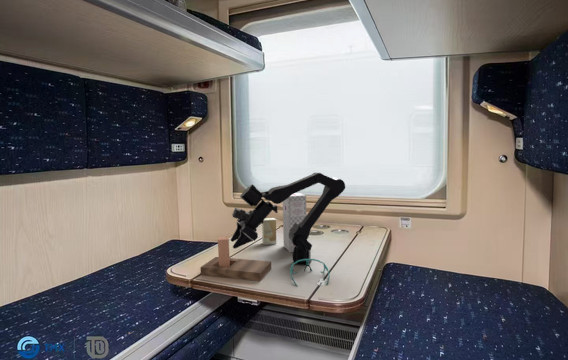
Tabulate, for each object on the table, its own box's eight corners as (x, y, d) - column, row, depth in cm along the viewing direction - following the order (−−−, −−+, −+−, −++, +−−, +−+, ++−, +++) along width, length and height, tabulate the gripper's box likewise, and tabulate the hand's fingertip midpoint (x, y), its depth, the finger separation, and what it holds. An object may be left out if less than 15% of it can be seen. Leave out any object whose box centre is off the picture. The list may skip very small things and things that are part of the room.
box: (289, 251, 155) (288, 196, 152) (283, 246, 163) (282, 194, 160) (307, 249, 158) (306, 195, 155) (300, 244, 166) (299, 192, 163)
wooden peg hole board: (271, 268, 135) (271, 261, 134) (260, 281, 123) (260, 272, 123) (216, 263, 142) (215, 256, 141) (200, 274, 130) (200, 267, 130)
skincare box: (264, 245, 166) (263, 220, 164) (262, 242, 170) (261, 218, 168) (277, 244, 167) (276, 219, 166) (274, 241, 171) (274, 217, 170)
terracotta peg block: (229, 268, 136) (228, 236, 135) (229, 272, 132) (228, 239, 131) (219, 269, 135) (218, 237, 134) (219, 273, 132) (217, 240, 130)
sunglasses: (325, 269, 133) (325, 257, 132) (332, 290, 118) (332, 276, 117) (289, 271, 133) (289, 259, 132) (291, 291, 118) (291, 278, 117)
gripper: (241, 197, 142) (215, 225, 141) (247, 204, 124) (217, 237, 123) (261, 214, 145) (235, 242, 143) (269, 224, 127) (241, 256, 125)
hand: (232, 244), depth 134 cm, fingers open, 9 cm apart
